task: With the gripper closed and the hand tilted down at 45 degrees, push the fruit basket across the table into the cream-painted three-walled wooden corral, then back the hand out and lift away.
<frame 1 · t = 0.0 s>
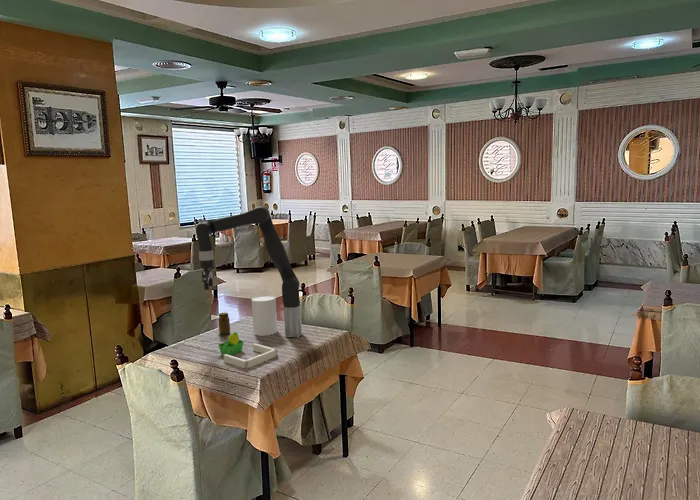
hand: (208, 287, 276), 29 cm above the table, tool pointing down, fingers open, 8 cm apart
fruit basket: (232, 353, 257), on the table
canister: (265, 332, 290), on the table
condiment: (225, 334, 289), on the table
corral: (248, 358, 248), on the table
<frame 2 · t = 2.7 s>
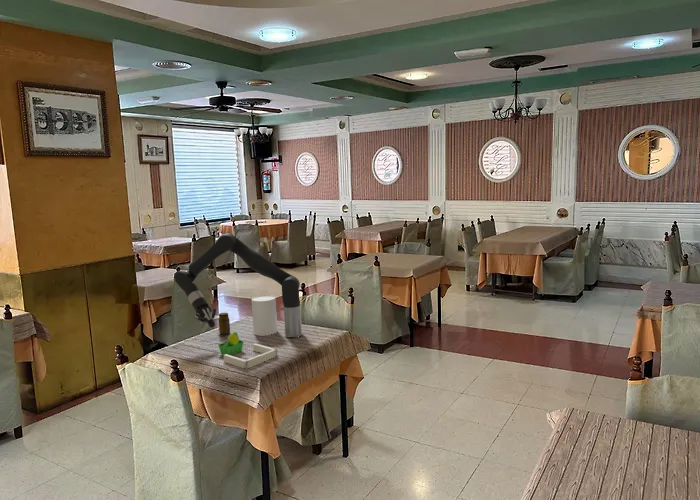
hand: (213, 326, 265), 11 cm above the table, tool tilted 45°, fingers closed
nothing on the table moved.
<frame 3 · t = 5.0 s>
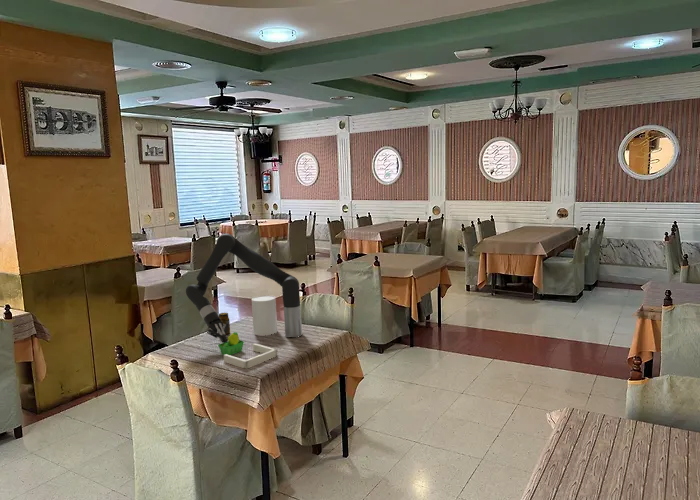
hand: (225, 342, 259), 5 cm above the table, tool tilted 45°, fingers closed
fruit basket: (232, 353, 257), on the table, touching gripper
everything else where it was.
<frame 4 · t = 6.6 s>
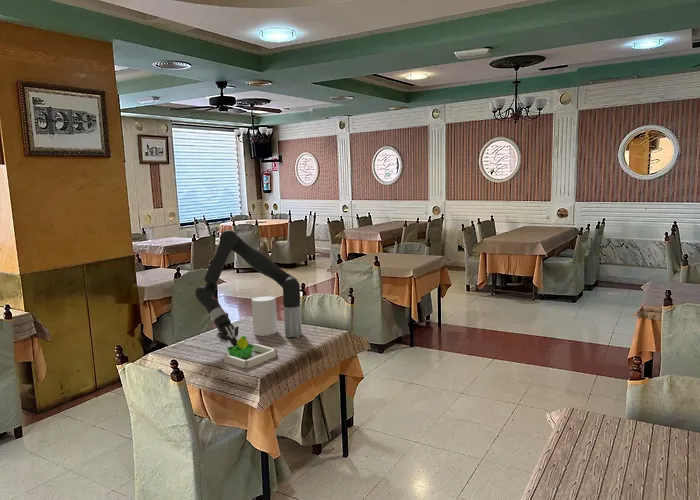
hand: (236, 345, 253), 5 cm above the table, tool tilted 45°, fingers closed
fruit basket: (241, 357, 250), on the table, touching gripper
everything else where it was.
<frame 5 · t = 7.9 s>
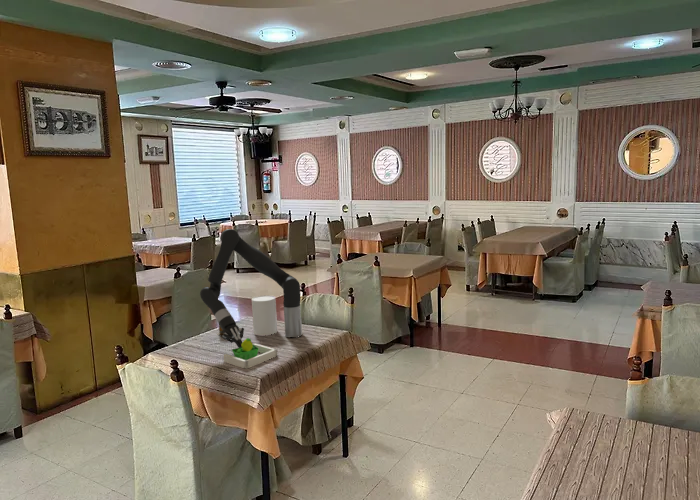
hand: (241, 347, 250), 5 cm above the table, tool tilted 45°, fingers closed
fruit basket: (246, 359, 247), on the table, touching gripper
everything else where it was.
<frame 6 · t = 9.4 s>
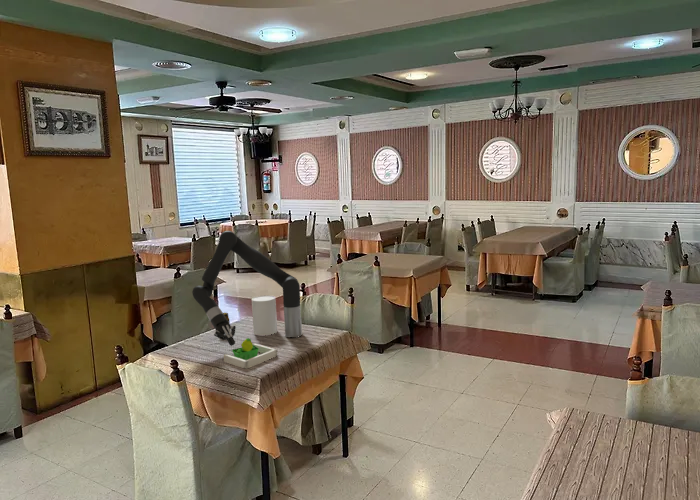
hand: (233, 344, 254), 5 cm above the table, tool tilted 45°, fingers closed
fruit basket: (246, 359, 247), on the table
everything else where it was.
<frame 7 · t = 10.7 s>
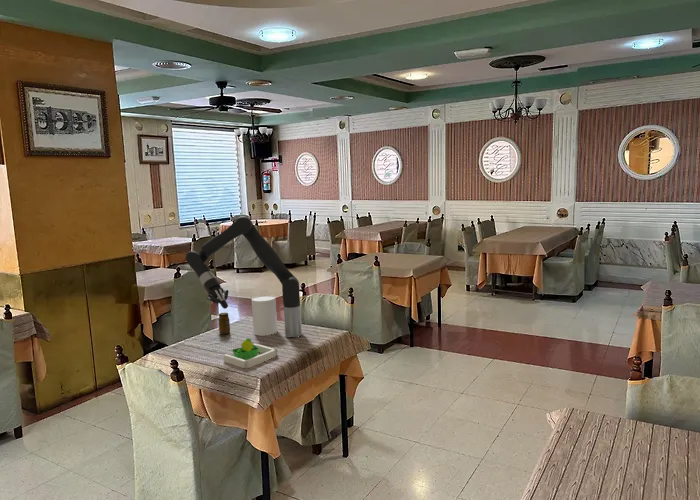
hand: (226, 307, 257), 23 cm above the table, tool tilted 45°, fingers closed
nothing on the table moved.
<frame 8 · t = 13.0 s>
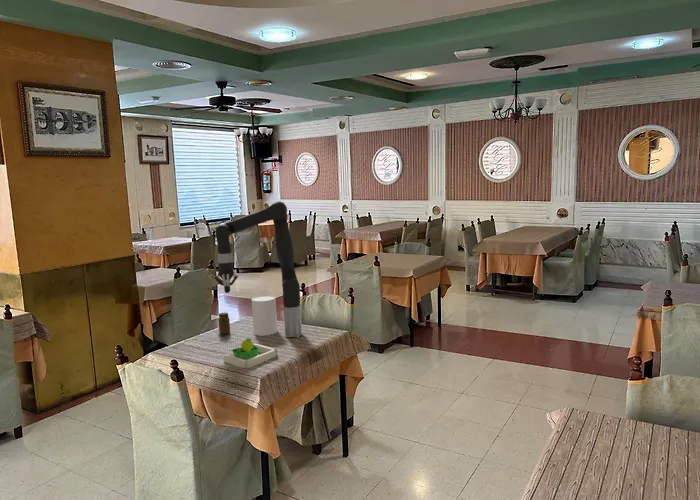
hand: (227, 292, 273), 27 cm above the table, tool pointing down, fingers closed
nothing on the table moved.
at the end: fruit basket 1.4 cm from the corral (horizontally); fruit basket tilted 0° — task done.
